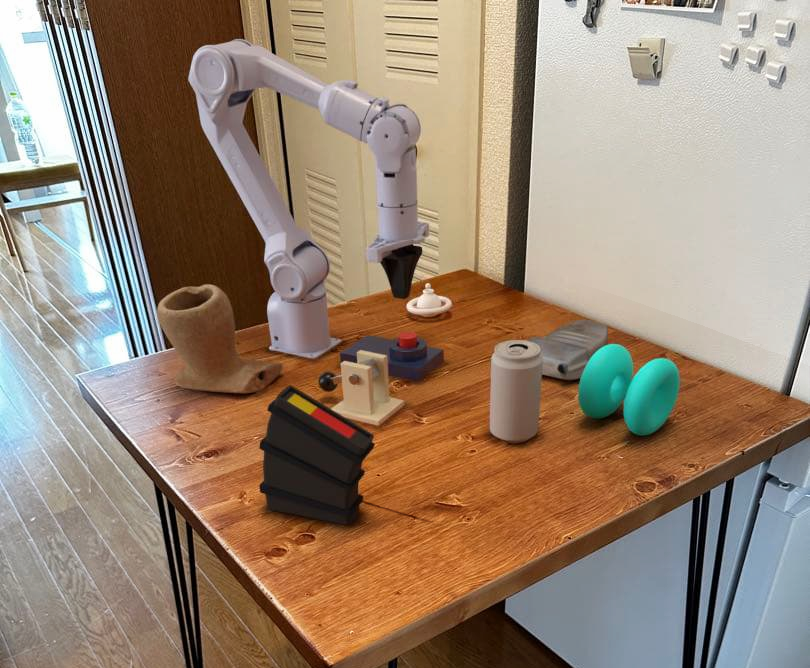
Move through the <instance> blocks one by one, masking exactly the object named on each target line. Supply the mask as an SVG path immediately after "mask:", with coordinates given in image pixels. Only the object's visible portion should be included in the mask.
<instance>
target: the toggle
mask: <svg viewBox="0 0 810 668" xmlns="http://www.w3.org/2000/svg"><path fill="white" fill-rule="evenodd" d="M357 364H362V365H366V366H371V367H372V380H373V379H375V378H376V377H377V376H379V375H380V373H379V371H378V369H377V366H376V364H375V361H374V359H370V360H366V361H363V362H359V363H357ZM339 384H342V375H341V373H339V374H335V373H333V372H332V371H325V372H323V373H321V375H320V376H319V377H318V386H319V388H320V389H321V390H322V391H323V392H325V393H326V392H327V393H331V392H334V391H335V390H336V389H337V387H338V386H339Z"/></svg>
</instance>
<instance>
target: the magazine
mask: <svg viewBox="0 0 810 668" xmlns="http://www.w3.org/2000/svg"><path fill="white" fill-rule="evenodd" d="M266 410H267V412H269V413H270V415H269V419H268V421H267V425H266V426H267V427H266V434H265V437H263V438H262V439H261V440H260V441H259V450H261V451H263V459H262V460H263V461H262V470H263V471H262V472H263V480H262V481H261V482H260V484H259V485H258V487H259V493H260V494H264V495H265V501H266V508H267V510H270V511H274V512H279V513H284V514H288V515H289V514H290V515H293V516H294V515H295V516H298V517H303V518H309V519H313V520H319V521H324V522H329V523H334V524H339V525H344V526H350V525H351V524H352V522H353V521H354V520H355V518H356V517H357V516H358V515H359V513H360V505H361V504H362V502H363V501H364V495H363V494H360V493H359V484H360V481H361V479H362V478H363V477H364V476H365V472H366V471H365V470H364V469H362V465H363V462H364V460H365V459H366V458H367V457H368V456H369V454H370V453H371V452H372V451H373V449H374V447H375V445H376V443H375V442H373V440H374V438H375V435H374V434H373V433H372V432H370V431H369V430H367V429H365V428H363V427H362V426H360V425H359V424H356V423H355V422H353V421H352V420H351V419H349V418H345V417H343V416H342V415H340V414H338V413H337V412H335V411H333V410H332V409H331V408H330V407H328V406H327V405H326V404H323V403H321V402H320V401H318V400H317V399H315V398H314V397H311V396H310V395H308V394H306V393H305V392H303V391H302V390H300V389H298V388H297V387H295V386H294V385H287V386H286V387H285V388H284V389H282V391H280V392H279V393H278V394H276V398H275V399H274V400H272V401H271V402H270V403H269V404H268V407H267V409H266Z"/></svg>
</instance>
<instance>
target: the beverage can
mask: <svg viewBox="0 0 810 668" xmlns="http://www.w3.org/2000/svg"><path fill="white" fill-rule="evenodd" d="M542 365H543V357H542V355H541V354H540V347H539V346H538V345H537V344H535V343H533V342H530V341H528V340H524V339H510V340H505V341H502V342H500V343H498V344H496V345H495V346H494V352H493V353H492V355H491V359H490V392H489V395H490V397H489V432H490V434H492V435H493V436H494V437H496V438H497V439H500V440H502V441H506V443H508V444H520V443H523V442H527V441H528V440H530V439H531V438H533V437H534V436H536V434H537V433H538V431H539V425H540V423H539V422H540V410H541V409H540V408H541V395H542V394H541V393H542V380H543V379H542V378H543V374H542Z"/></svg>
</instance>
